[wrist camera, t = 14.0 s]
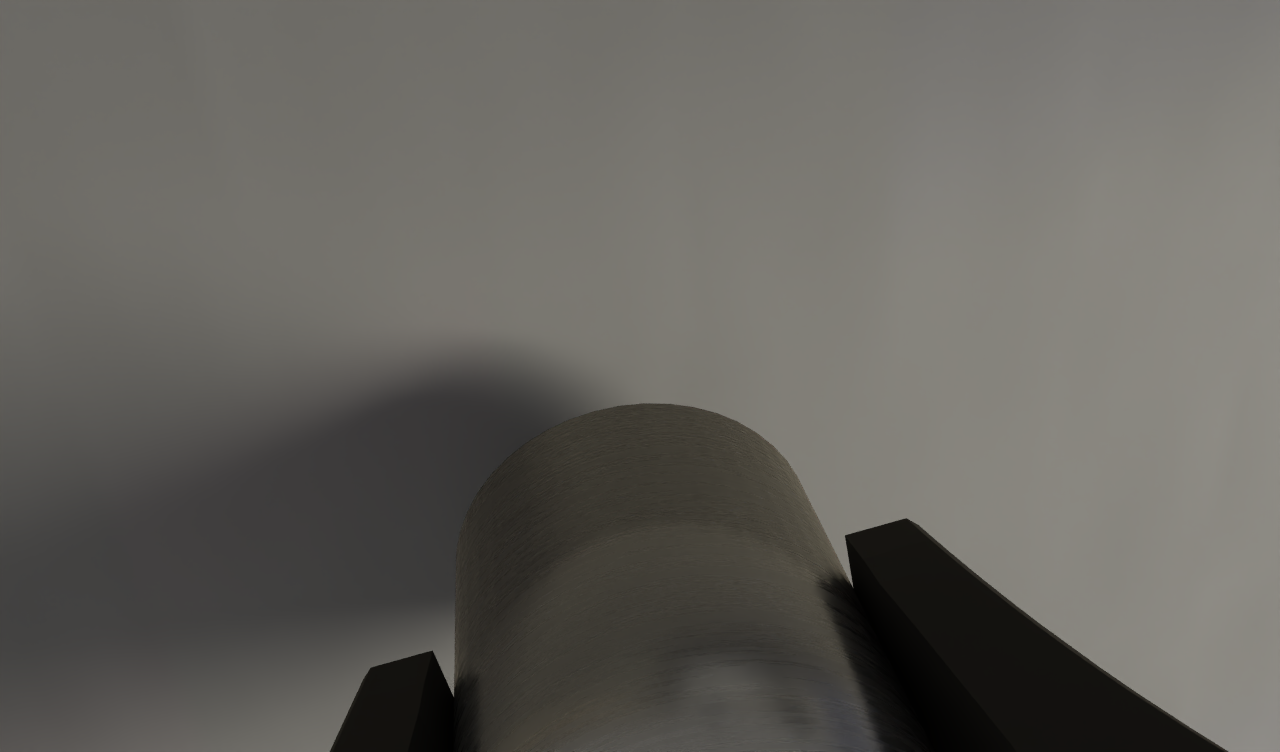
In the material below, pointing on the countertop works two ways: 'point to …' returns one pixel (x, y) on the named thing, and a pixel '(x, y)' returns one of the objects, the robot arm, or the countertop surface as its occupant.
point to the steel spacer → (662, 601)
